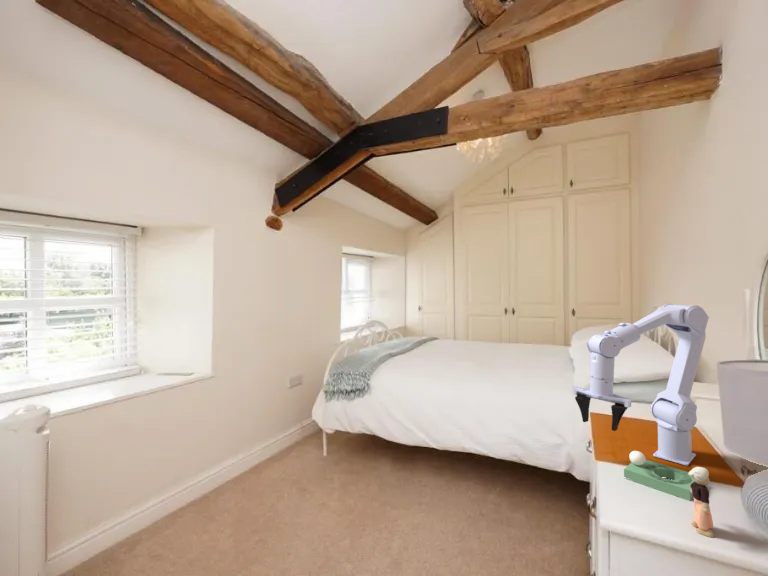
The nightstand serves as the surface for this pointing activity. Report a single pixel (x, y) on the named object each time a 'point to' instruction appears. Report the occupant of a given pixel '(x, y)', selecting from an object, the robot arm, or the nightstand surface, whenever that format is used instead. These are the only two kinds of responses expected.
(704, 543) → the nightstand surface
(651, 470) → the green
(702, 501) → the grandmother figurine
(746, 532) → the nightstand surface
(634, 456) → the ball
